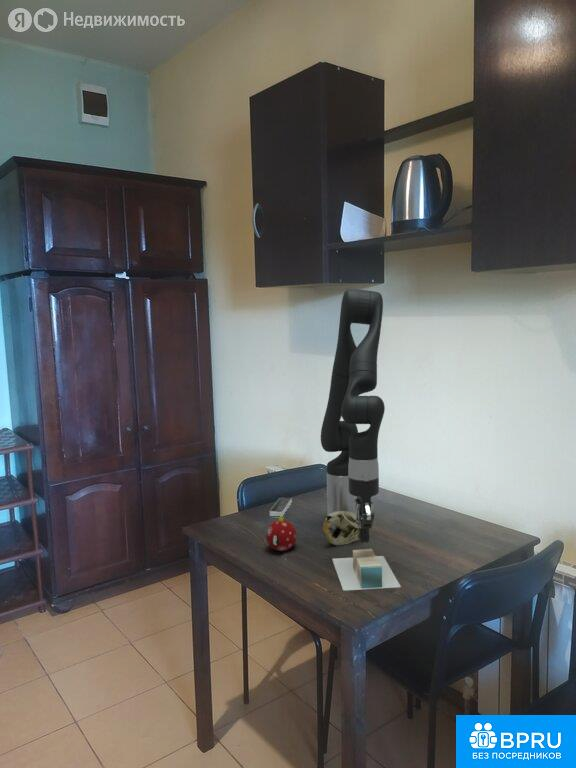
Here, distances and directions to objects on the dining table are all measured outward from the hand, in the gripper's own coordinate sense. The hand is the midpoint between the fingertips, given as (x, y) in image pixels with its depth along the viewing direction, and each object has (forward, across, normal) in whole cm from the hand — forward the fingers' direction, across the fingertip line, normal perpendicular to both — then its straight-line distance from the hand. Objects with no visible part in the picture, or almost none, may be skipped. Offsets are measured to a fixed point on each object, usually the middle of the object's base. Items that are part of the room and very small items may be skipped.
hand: (364, 541), depth 146 cm
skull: (+9, -21, -2) cm, 23 cm away
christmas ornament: (+9, -18, -20) cm, 28 cm away
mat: (+9, 0, 0) cm, 9 cm away
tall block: (+6, -2, 0) cm, 6 cm away
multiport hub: (+9, -51, -18) cm, 55 cm away
